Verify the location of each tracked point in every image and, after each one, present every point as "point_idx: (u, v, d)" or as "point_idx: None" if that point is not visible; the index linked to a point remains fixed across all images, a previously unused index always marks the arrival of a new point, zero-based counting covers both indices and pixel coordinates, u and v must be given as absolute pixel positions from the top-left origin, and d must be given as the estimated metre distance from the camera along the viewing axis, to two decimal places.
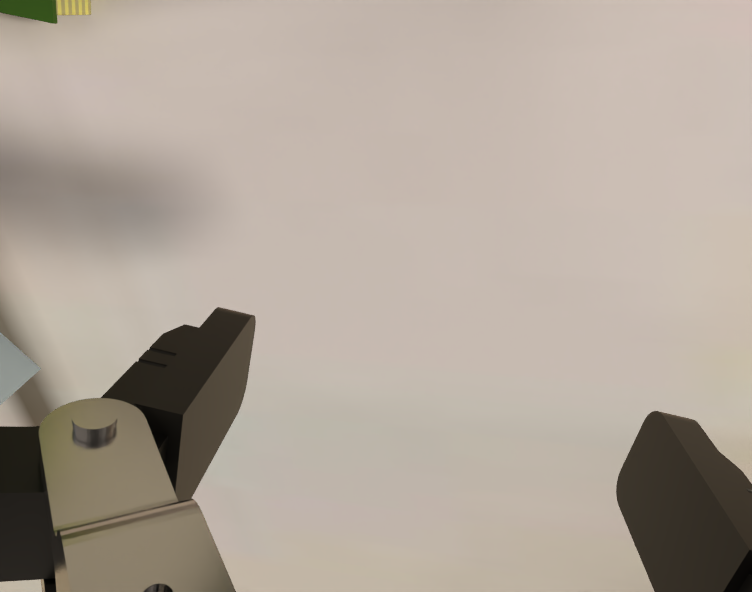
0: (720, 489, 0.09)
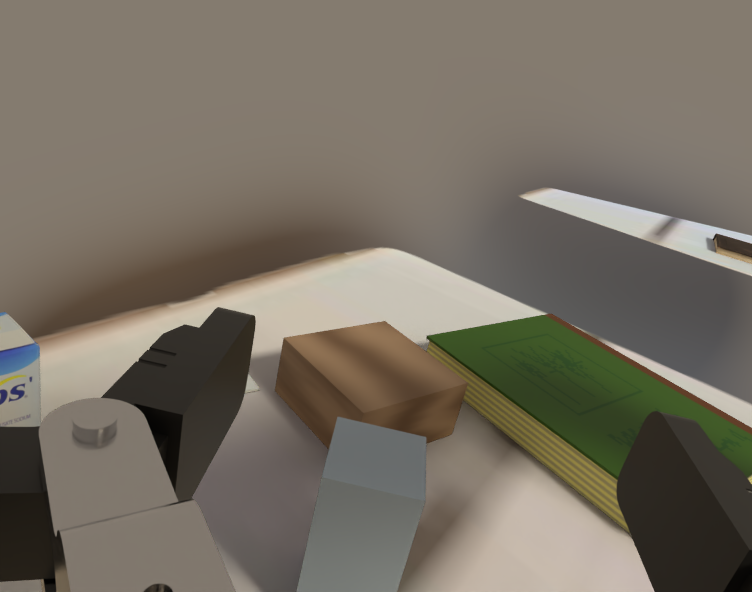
0: (720, 489, 0.09)
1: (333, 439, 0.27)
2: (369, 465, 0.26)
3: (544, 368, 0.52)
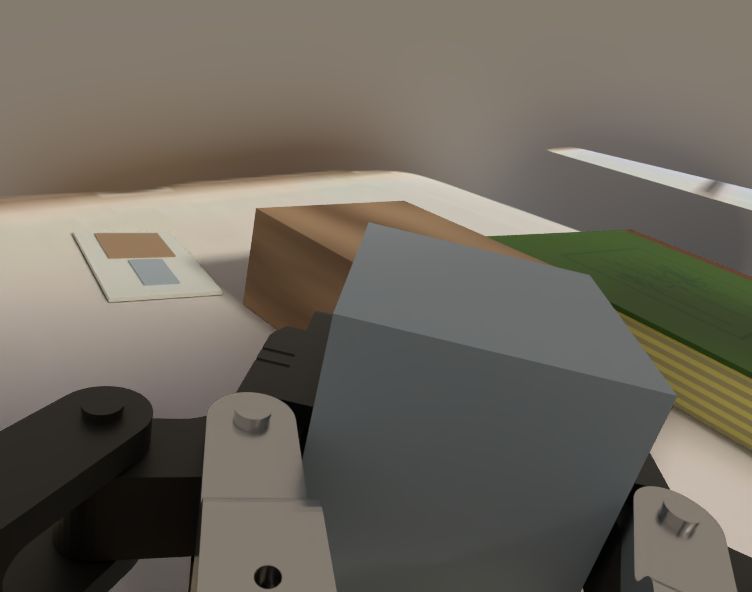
0: None
1: (362, 251, 0.10)
2: (473, 303, 0.09)
3: (658, 282, 0.34)
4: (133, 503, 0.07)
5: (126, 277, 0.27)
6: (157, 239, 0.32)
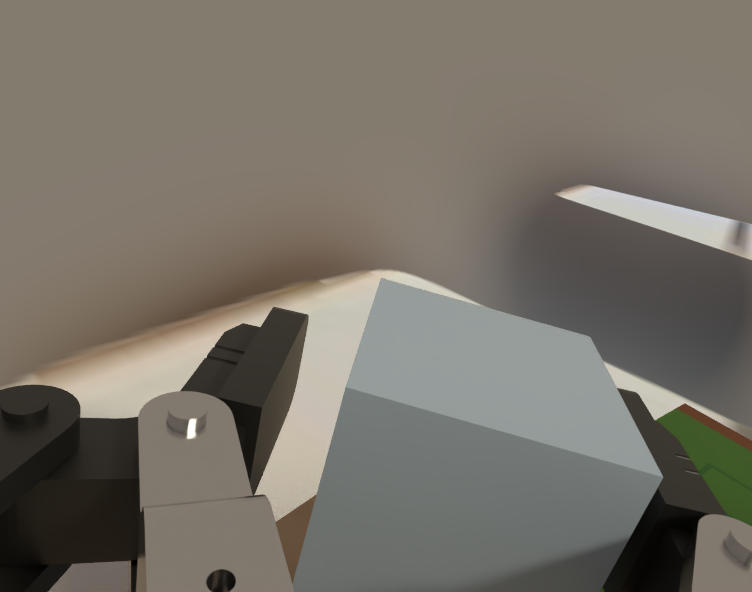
0: None
1: (374, 313, 0.11)
2: (476, 373, 0.09)
3: None
4: (66, 501, 0.07)
5: None
6: None
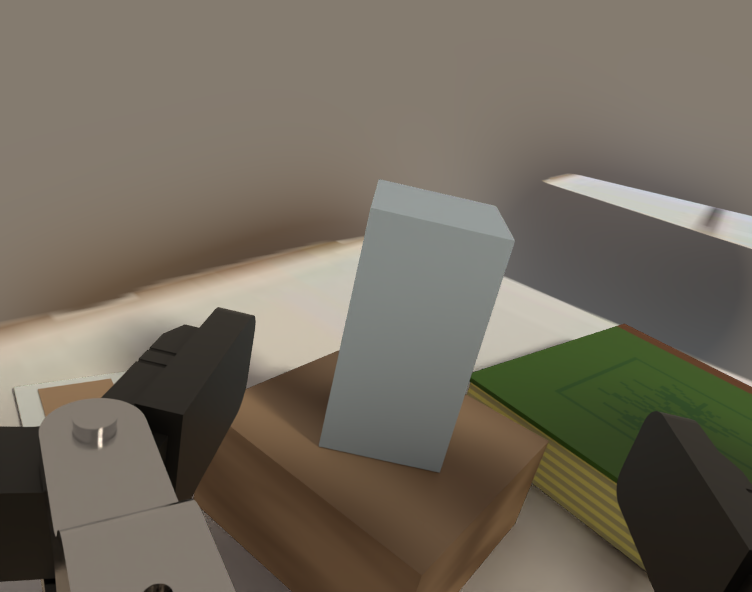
0: (720, 489, 0.09)
1: (378, 189, 0.20)
2: (431, 210, 0.19)
3: None
4: None
5: None
6: None
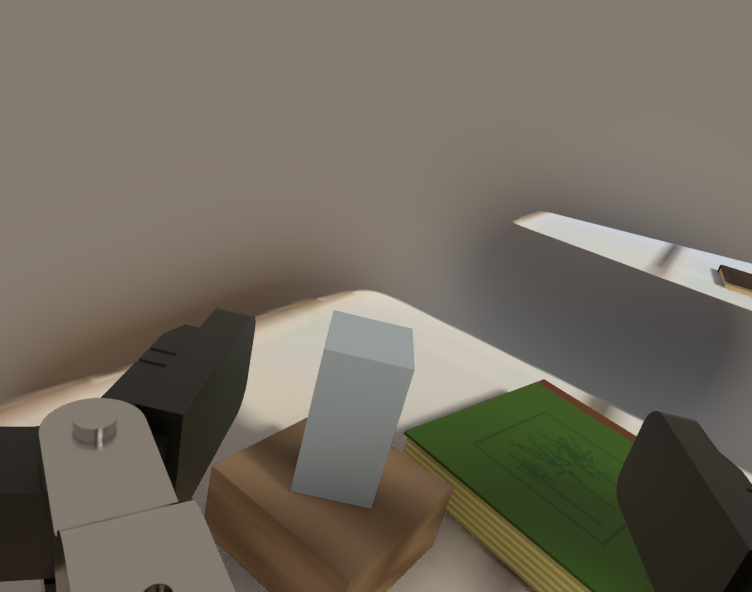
0: (720, 489, 0.09)
1: (331, 325, 0.31)
2: (364, 343, 0.30)
3: (551, 469, 0.42)
4: None
5: None
6: None
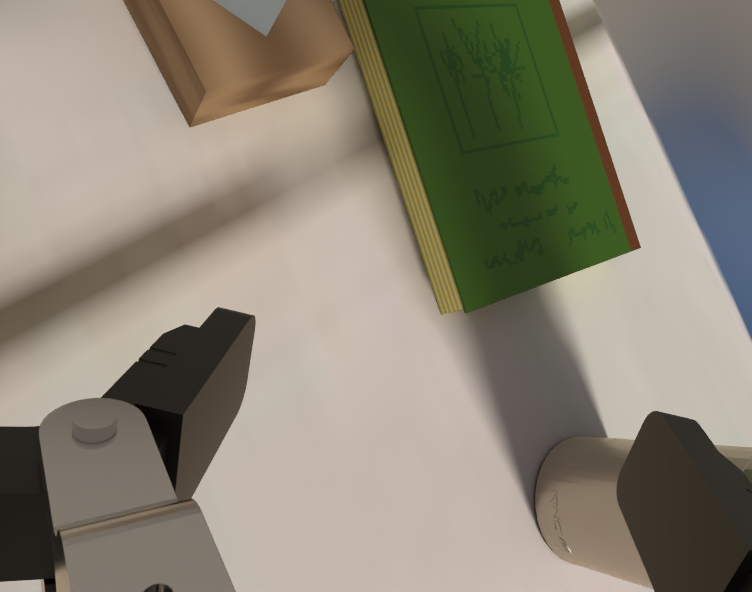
0: (720, 489, 0.09)
1: None
2: None
3: (471, 68, 0.42)
4: None
5: None
6: None
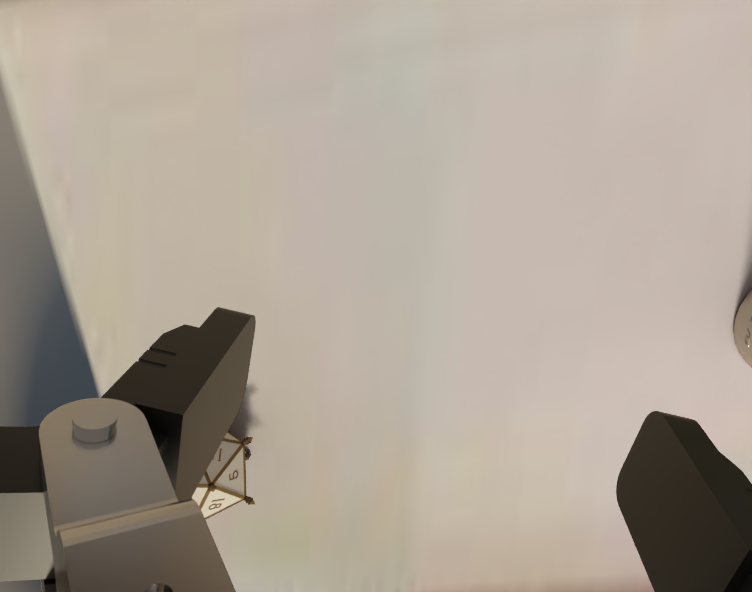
0: (720, 489, 0.09)
1: None
2: None
3: None
4: None
5: None
6: None
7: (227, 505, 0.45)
